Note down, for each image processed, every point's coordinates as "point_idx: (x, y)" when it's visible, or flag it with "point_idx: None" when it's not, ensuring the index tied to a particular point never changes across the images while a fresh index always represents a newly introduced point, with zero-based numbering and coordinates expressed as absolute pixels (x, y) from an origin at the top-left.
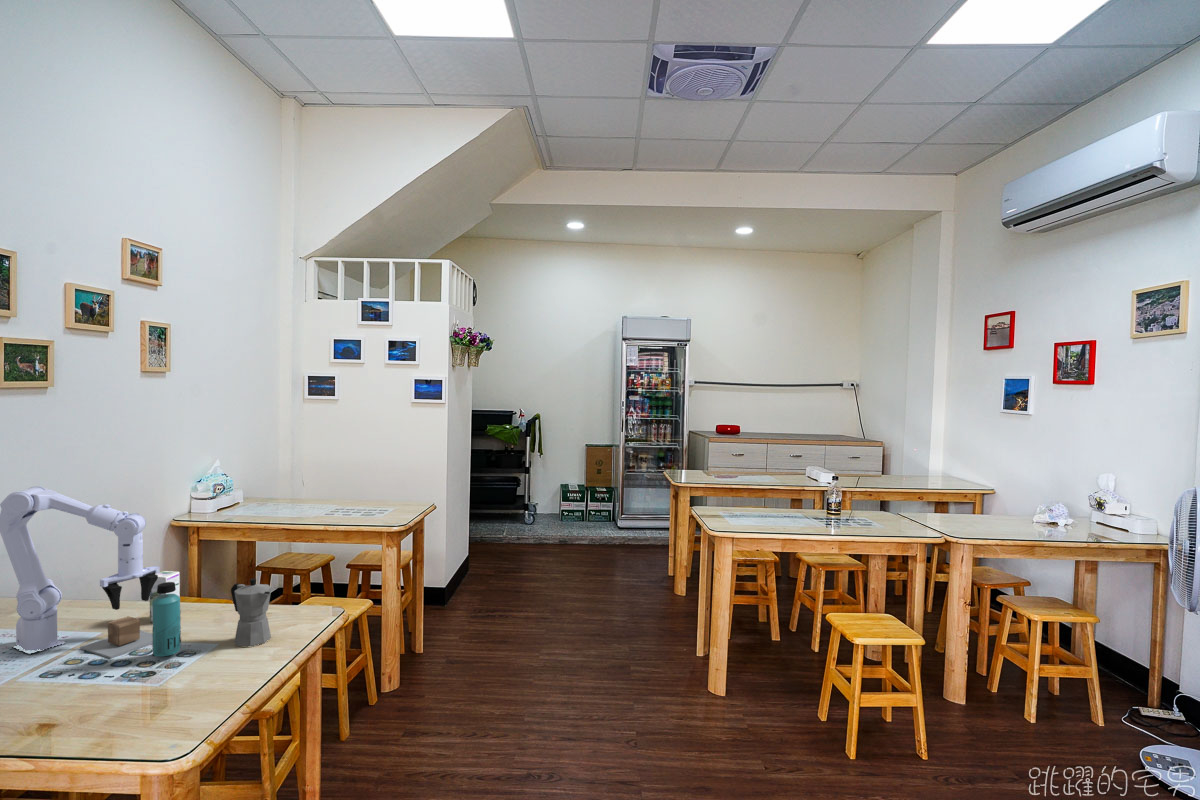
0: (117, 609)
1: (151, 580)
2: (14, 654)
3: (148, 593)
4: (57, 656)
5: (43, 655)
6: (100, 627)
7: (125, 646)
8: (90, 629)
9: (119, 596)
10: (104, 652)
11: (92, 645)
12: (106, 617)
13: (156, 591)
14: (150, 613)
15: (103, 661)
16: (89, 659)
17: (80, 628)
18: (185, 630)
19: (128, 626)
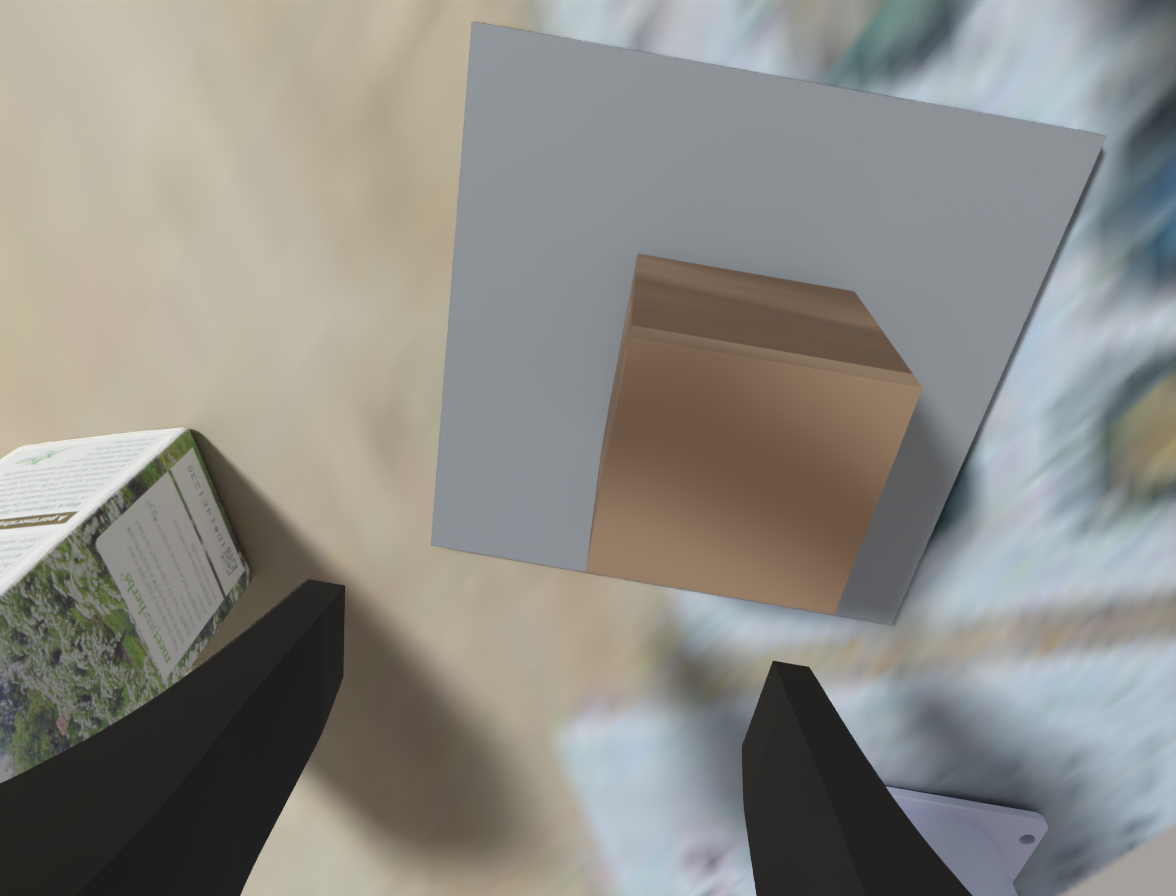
0: (802, 666)
1: (30, 881)
2: (1032, 891)
3: (258, 656)
4: (1053, 642)
5: (1038, 739)
6: (495, 801)
7: (810, 250)
8: (548, 826)
9: (862, 847)
10: (992, 316)
11: None
12: (351, 890)
13: (11, 774)
14: (211, 626)
15: (1169, 145)
16: (1114, 340)
17: (557, 884)
18: (193, 29)
19: (783, 345)
